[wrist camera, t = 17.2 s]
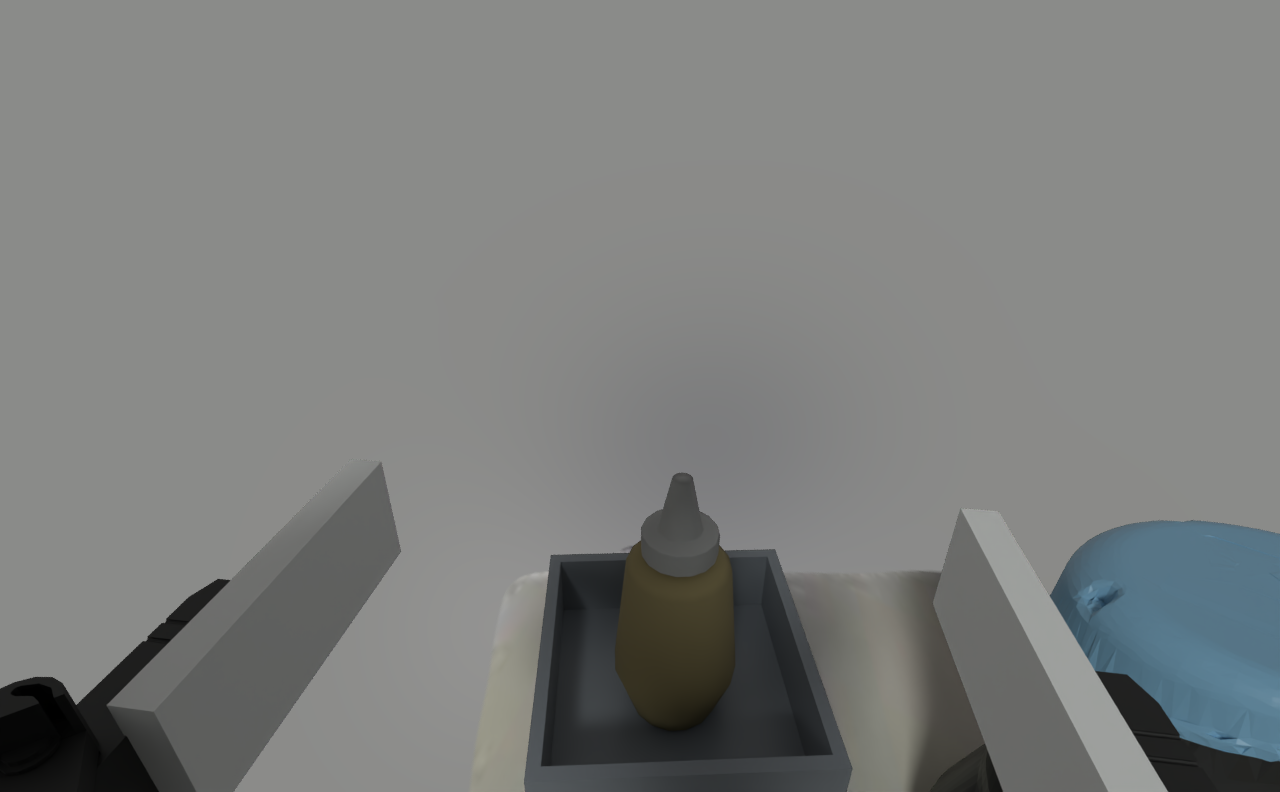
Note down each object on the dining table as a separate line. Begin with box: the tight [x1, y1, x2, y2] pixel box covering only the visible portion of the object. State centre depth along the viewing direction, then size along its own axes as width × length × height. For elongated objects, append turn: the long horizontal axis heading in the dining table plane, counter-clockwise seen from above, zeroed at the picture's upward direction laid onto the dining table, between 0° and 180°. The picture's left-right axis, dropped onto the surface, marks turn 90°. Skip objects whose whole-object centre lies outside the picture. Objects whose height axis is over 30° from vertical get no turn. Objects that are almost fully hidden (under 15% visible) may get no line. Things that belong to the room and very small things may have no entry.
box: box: [524, 549, 852, 792], centre depth 43 cm, size 18×18×6 cm
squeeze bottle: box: [615, 473, 735, 731], centre depth 39 cm, size 8×8×18 cm
